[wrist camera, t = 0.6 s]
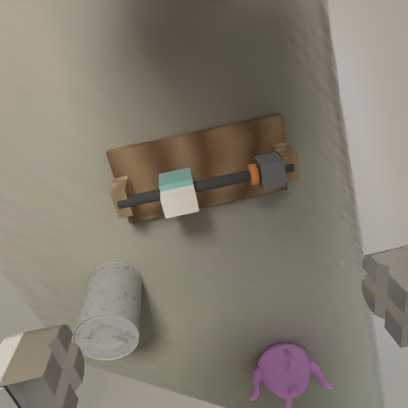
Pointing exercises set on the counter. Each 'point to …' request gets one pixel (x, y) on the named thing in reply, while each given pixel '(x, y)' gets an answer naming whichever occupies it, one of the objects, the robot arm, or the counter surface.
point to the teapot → (286, 372)
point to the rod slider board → (198, 163)
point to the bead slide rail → (230, 179)
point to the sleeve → (177, 193)
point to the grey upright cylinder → (110, 312)
